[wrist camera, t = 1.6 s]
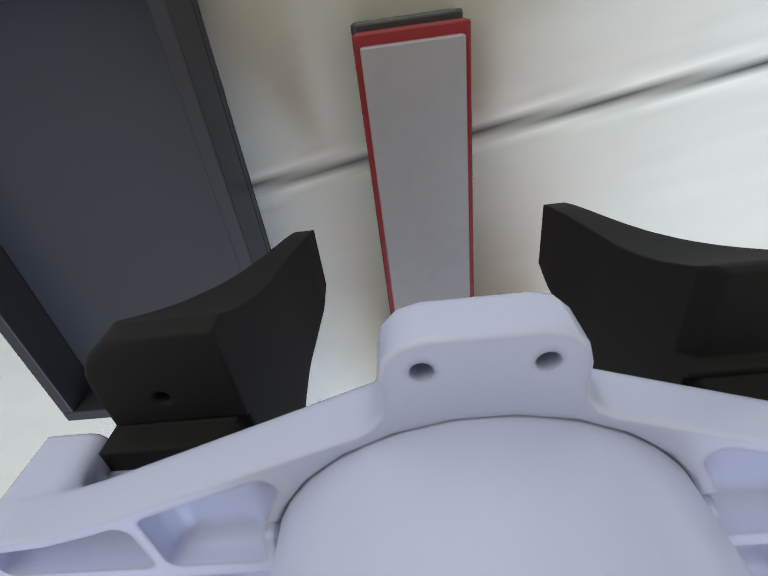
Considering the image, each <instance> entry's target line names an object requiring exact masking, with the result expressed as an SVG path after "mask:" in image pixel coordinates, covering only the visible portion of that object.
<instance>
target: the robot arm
mask: <svg viewBox="0 0 768 576" xmlns="http://www.w3.org/2000/svg"><path fill="white" fill-rule="evenodd" d="M539 265H540V267H541V270H542V273H543V276H544V278H545V281H546V283H547V286H548V288H549V290H550V291H551V293H552V294H544V293H536V292H518V293H508V294H498V295H487V296H477V297H467V298H457V299H446V300H436V301H426V302H418V303H415V304H412V305H409V306H406V307H403V308H400V309H397V310H395V311H394V312H393V313H392V314H391V315H390V316H389V317H388V318H387V319H386V320H385V321H384V322H383V323H382V324H381V327H380V333H379V338H378V348H377V379H376V380H375V381H374V382H373V383H370V384H367V385H364V386H362V387H359V388H356V389H353V390H351V391H348V392H345V393H342V394H340V395H337V396H334V397H331V398H329V399H326V400H323V401H321V402H318V403H315V404H312V405H310V406H307V407H306V396H307V388H308V379H309V371H310V366H311V361H312V356H313V352H314V348H315V344H316V340H317V336H318V332H319V328H320V324H321V320H322V316H323V311H324V305H325V293H326V281H325V277H324V273H323V269H322V264H321V260H320V256H319V251H318V247H317V243H316V238H315V234H314V230H312V231H303V232H295V233H293V234H291V235H290V236H288V237H287V238H286V239H284V240H283V241H282V242H280V243H279V244H278V245H277V246H275V247H274V248H273V249H272V250H270V251H269V252H268V253H267V254H265V255H264V256H263V257H262V258H260V259H259V260H257V261H256V262H255V263H253V264H252V265H250V266H249V267H248V268H246V269H245V270H243V271H242V272H240V273H239V274H237V275H236V276H234V277H232V278H231V279H229V280H227V281H225V282H223V283H222V284H220V285H218V286H216V287H214V288H212V289H210V290H207V291H205V292H203V293H201V294H199V295H197V296H194V297H192V298H190V299H187V300H185V301H182V302H180V303H177V304H174V305H171V306H168V307H165V308H162V309H159V310H156V311H153V312H149V313H146V314H142V315H138V316H134V317H131V318H127V319H123V320H119V321H115V322H114V323H113V324H112V326H111V327H110V328H109V329H108V331H107V332H106V333H105V334H104V335H103V337H102V338H101V339H100V340H99V341H98V343H97V344H96V345H95V346H94V347H93V349H92V350H91V351H90V352H89V354H88V355H87V357H86V361H85V364H84V369H85V376H86V379H87V381H88V383H89V385H90V386H91V388H92V390H93V392H94V393H95V394H96V396H97V397H98V399H99V400H100V402H101V403H102V405H103V406H104V407H105V409H106V410H107V412H108V413H109V415H110V416H111V418H112V419H113V420H114V422H115V423H116V425H117V426H116V428H115V429H114V431H113V432H112V434H111V436H110V437H109V439H108V438H107V437H105V436H102V435H100V434H92V433H91V434H79V435H66V436H54V437H49V438H48V439H47V440H46V441H45V442H44V444H43V445H42V446H41V448H40V449H39V450H38V452H37V453H36V454H35V455H34V457H33V458H32V459H31V461H30V462H29V463H28V464H27V466H26V467H25V468H24V470H23V471H22V472H21V473H20V475H19V476H18V477H17V479H16V480H15V481H14V482H13V484H12V485H11V486H10V488H9V489H8V490H7V492H6V493H5V494H4V495H3V497H2V498H1V499H0V576H768V250H765V249H752V248H740V247H730V246H721V245H714V244H708V243H701V242H694V241H689V240H684V239H679V238H674V237H670V236H666V235H662V234H657V233H654V232H650V231H646V230H643V229H640V228H637V227H634V226H630V225H627V224H624V223H622V222H619V221H616V220H613V219H610V218H608V217H605V216H603V215H600V214H597V213H595V212H592V211H589V210H587V209H584V208H581V207H579V206H576V205H572V204H569V203H556V204H547V205H544V207H543V218H542V230H541V242H540V254H539Z"/></svg>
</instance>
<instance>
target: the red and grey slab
mask: <svg viewBox="0 0 768 576" xmlns="http://www.w3.org/2000/svg"><path fill="white" fill-rule="evenodd" d="M351 33H352V42H353V49H354V56H355V64H356V71H357V78H358V85H359V92H360V99H361V106H362V113H363V120H364V128H365V135H366V142H367V149H368V156H369V163H370V170H371V177H372V185H373V192H374V199H375V206H376V213H377V220H378V227H379V234H380V241H381V249H382V256H383V263H384V270H385V277H386V284H387V291H388V298H389V305H390V313H391V314H392V313H393V312H394V311H395V310H397V309H400V308H403V307H406V306H409V305H412V304H415V303H418V302H426V301H436V300H446V299H457V298H467V297H474V288H473V198H472V107H471V21H470V19H465V18H463V12H462V9H460V8H454V9H447V10H440V11H433V12H426V13H419V14H412V15H405V16H398V17H391V18H384V19H377V20H370V21H363V22H356V23H353V24H351Z"/></svg>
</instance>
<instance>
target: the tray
mask: <svg viewBox="0 0 768 576" xmlns="http://www.w3.org/2000/svg"><path fill="white" fill-rule="evenodd" d="M270 250H271V249H270V246H269V243H268V239H267V236H266V232H265V229H264V226H263V222H262V219H261V216H260V212H259V209H258V206H257V202H256V199H255V196H254V192H253V189H252V186H251V182H250V179H249V176H248V172H247V169H246V165H245V162H244V159H243V155H242V152H241V149H240V145H239V142H238V139H237V135H236V132H235V129H234V125H233V122H232V119H231V115H230V112H229V108H228V105H227V102H226V98H225V95H224V92H223V88H222V85H221V82H220V78H219V75H218V72H217V68H216V65H215V62H214V58H213V55H212V51H211V48H210V45H209V41H208V38H207V35H206V31H205V28H204V25H203V21H202V18H201V15H200V11H199V8H198V5H197V1H196V0H0V332H1V334H2V335H3V336H4V338H5V339H6V340H7V342H8V343H9V344H10V345H11V347H12V348H13V349H14V351H15V352H16V353H17V354H18V356H19V357H20V358H21V360H22V361H23V362H24V364H25V365H26V366H27V367H28V369H29V370H30V371H31V373H32V374H33V375H34V376H35V378H36V379H37V380H38V382H39V383H40V384H41V386H42V387H43V388H44V389H45V391H46V392H47V393H48V395H49V396H50V397H51V398H52V400H53V401H54V402H55V404H56V405H57V406H58V408H59V409H60V410H61V411H62V412H63V414H64V415H65V417H66V418H67V419H68V420H69V421H71V420H83V419H95V418H107V417H111V416H110V415H109V413H108V412H107V410H106V409H105V407H104V406H103V405H102V403H101V402H100V400H99V399H98V397H97V396H96V394H95V393H94V392H93V390H92V388H91V386H90V385H89V383H88V381H87V379H86V376H85V369H84V364H85V361H86V357H87V355H88V354H89V352H90V351H91V350H92V349H93V347H94V346H95V345H96V344H97V343H98V341H99V340H100V339H101V338H102V337H103V335H104V334H105V333H106V332H107V331H108V329H109V328H110V327H111V326H112V324H113V323H114V322H115V321H119V320H123V319H127V318H131V317H134V316H138V315H142V314H146V313H149V312H153V311H156V310H159V309H162V308H165V307H168V306H171V305H174V304H177V303H180V302H182V301H185V300H187V299H190V298H192V297H194V296H197V295H199V294H201V293H203V292H205V291H207V290H210V289H212V288H214V287H216V286H218V285H220V284H222V283H223V282H225V281H227V280H229V279H231V278H232V277H234V276H236V275H237V274H239V273H240V272H242V271H243V270H245V269H246V268H248V267H249V266H250V265H252V264H253V263H255V262H256V261H257V260H259V259H260V258H262V257H263V256H264V255H265V254H267V253H268V252H269V251H270Z"/></svg>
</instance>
